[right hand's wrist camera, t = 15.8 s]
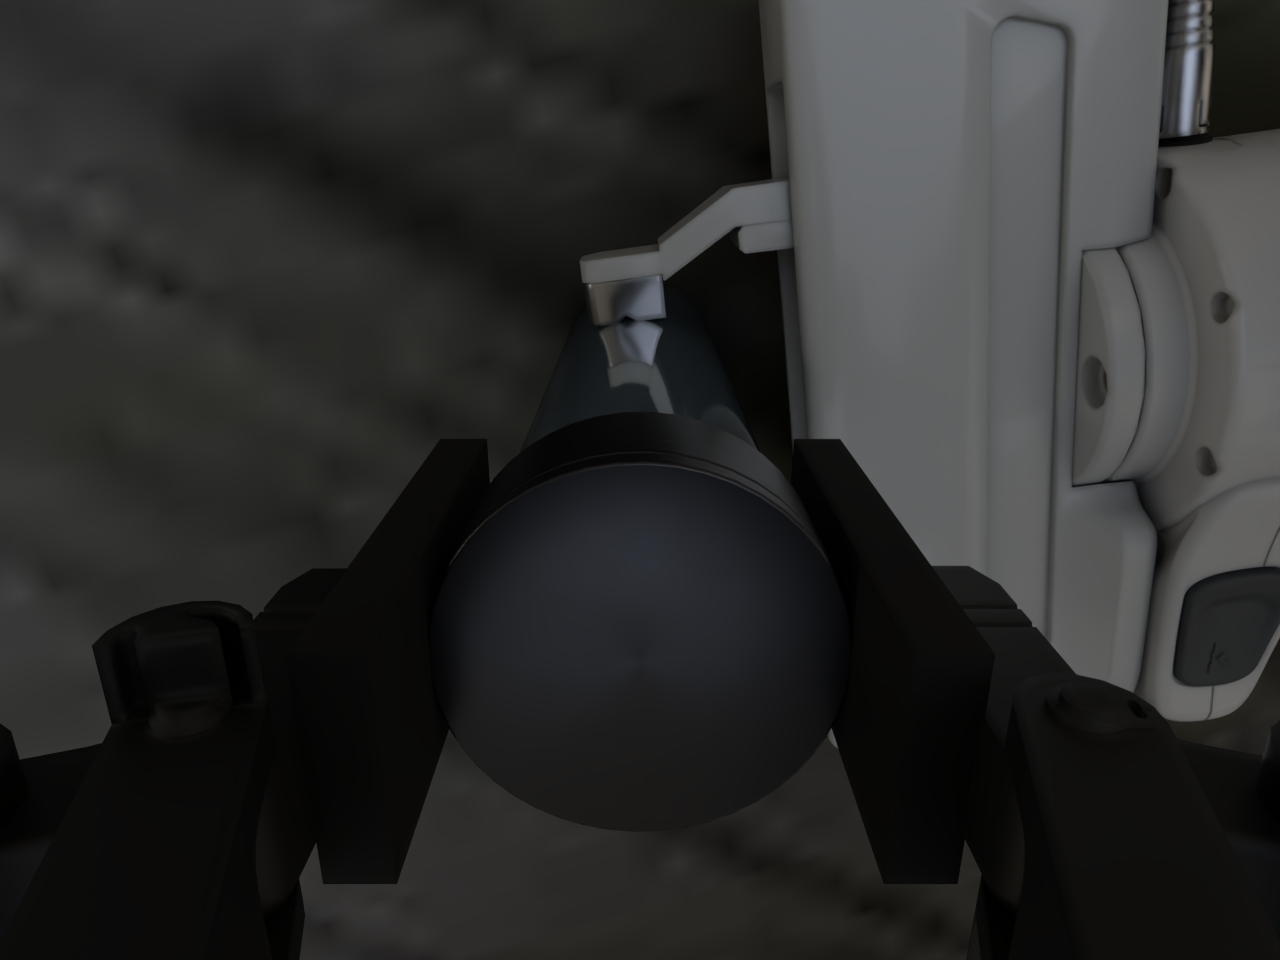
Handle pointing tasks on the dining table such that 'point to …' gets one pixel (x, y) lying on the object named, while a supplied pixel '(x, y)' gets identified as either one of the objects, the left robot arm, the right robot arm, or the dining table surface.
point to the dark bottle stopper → (640, 626)
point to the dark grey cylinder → (642, 373)
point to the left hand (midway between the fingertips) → (603, 413)
